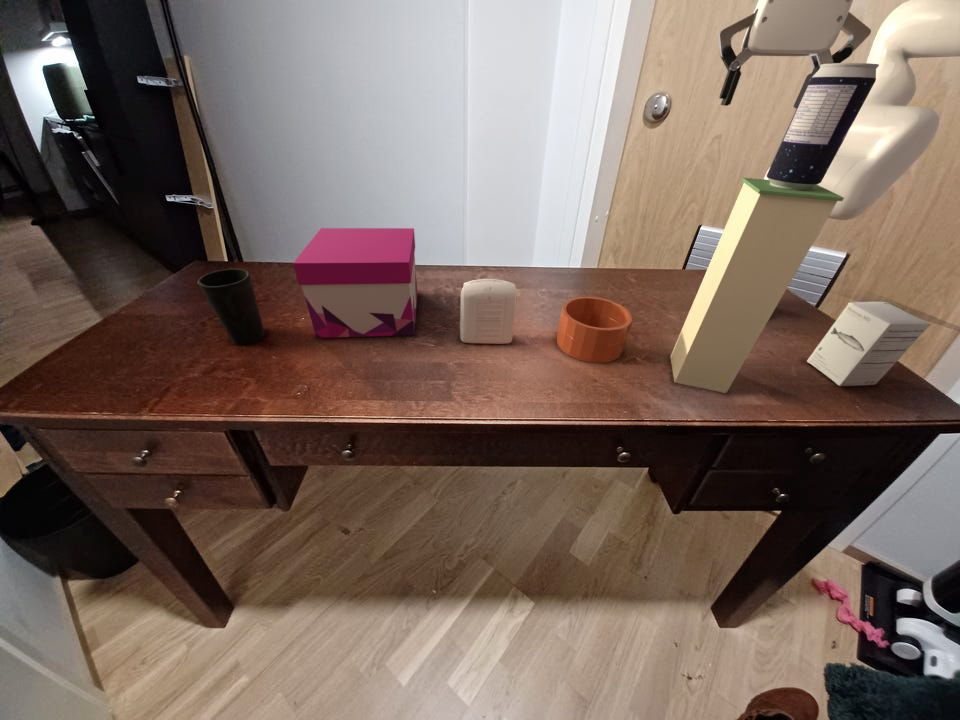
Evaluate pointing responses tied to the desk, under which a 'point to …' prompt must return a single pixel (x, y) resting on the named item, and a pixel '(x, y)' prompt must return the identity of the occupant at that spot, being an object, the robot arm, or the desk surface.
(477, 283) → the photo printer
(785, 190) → the mat
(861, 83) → the beverage can
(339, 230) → the decorative box
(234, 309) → the cup
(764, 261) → the plant stand
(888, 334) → the white packaging box
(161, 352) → the desk surface
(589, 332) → the pot
